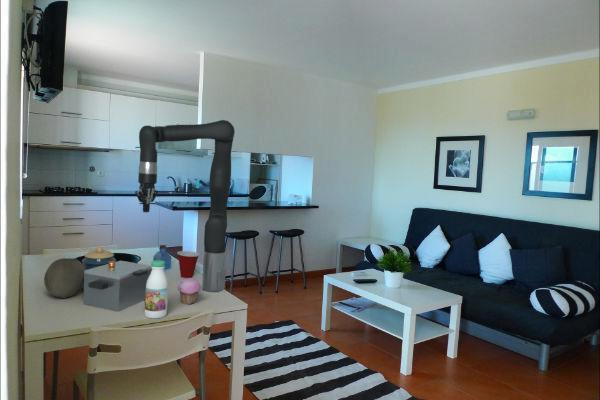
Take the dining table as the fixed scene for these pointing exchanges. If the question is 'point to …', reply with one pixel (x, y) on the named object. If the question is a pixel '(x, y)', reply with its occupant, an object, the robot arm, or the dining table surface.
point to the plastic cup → (187, 263)
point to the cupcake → (189, 290)
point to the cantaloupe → (64, 277)
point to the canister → (97, 259)
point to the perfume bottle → (163, 256)
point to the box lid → (119, 270)
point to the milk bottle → (156, 291)
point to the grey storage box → (114, 291)
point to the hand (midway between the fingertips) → (146, 212)
